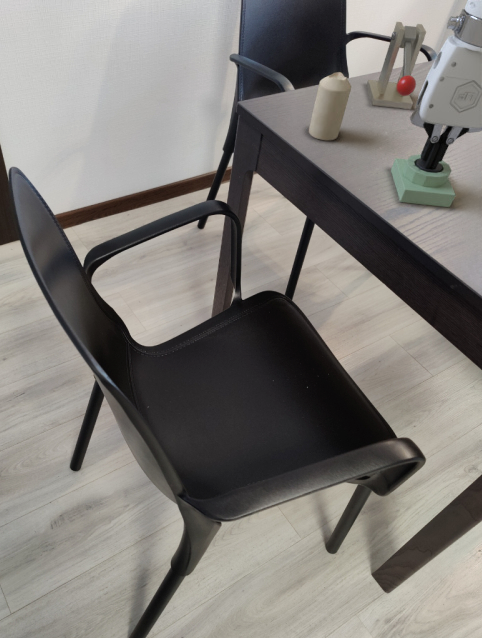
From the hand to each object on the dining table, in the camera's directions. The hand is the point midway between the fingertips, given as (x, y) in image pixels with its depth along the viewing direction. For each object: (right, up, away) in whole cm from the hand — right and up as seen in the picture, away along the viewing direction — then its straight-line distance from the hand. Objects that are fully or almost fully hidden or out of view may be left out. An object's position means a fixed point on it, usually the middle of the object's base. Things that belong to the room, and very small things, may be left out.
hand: (428, 164), depth 80 cm
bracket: (+3, +25, +26) cm, 36 cm away
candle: (-14, +11, +14) cm, 22 cm away
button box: (0, -3, +3) cm, 4 cm away
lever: (+3, +26, +18) cm, 32 cm away
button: (0, -1, +1) cm, 2 cm away
